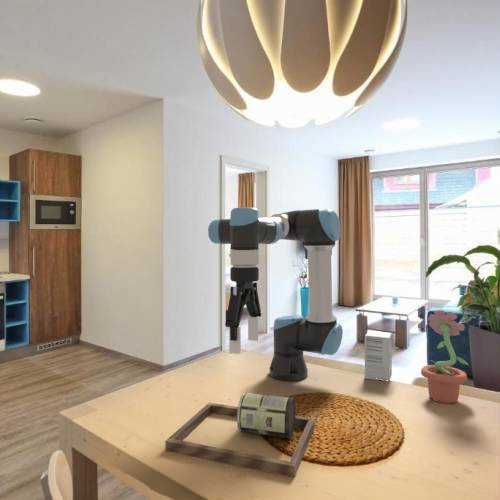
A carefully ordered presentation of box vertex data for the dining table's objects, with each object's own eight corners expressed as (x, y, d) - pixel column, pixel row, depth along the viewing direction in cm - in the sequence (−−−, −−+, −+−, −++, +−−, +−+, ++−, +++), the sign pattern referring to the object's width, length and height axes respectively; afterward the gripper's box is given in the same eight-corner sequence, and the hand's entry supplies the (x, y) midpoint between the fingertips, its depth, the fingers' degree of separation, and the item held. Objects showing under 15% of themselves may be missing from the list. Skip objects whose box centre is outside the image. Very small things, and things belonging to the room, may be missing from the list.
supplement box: (368, 371, 158) (368, 330, 157) (392, 374, 154) (392, 332, 153) (364, 378, 149) (364, 335, 149) (389, 382, 145) (389, 337, 145)
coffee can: (249, 411, 114) (296, 417, 110) (239, 440, 105) (290, 447, 101) (245, 383, 110) (294, 389, 106) (234, 411, 101) (287, 418, 97)
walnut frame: (165, 450, 97) (165, 440, 97) (209, 410, 120) (209, 402, 120) (294, 477, 86) (294, 466, 86) (314, 427, 109) (314, 418, 109)
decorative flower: (476, 400, 128) (477, 309, 128) (463, 412, 119) (463, 315, 118) (430, 388, 139) (430, 304, 139) (414, 399, 129) (414, 309, 129)
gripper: (247, 263, 115) (247, 334, 116) (211, 268, 92) (211, 357, 92) (271, 264, 113) (271, 336, 113) (240, 269, 89) (240, 360, 90)
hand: (244, 346), depth 103 cm, fingers open, 13 cm apart
